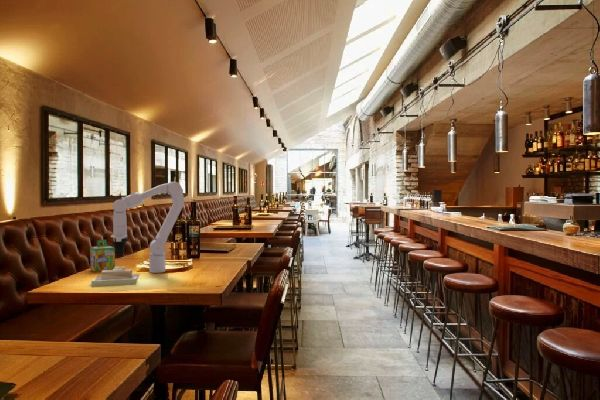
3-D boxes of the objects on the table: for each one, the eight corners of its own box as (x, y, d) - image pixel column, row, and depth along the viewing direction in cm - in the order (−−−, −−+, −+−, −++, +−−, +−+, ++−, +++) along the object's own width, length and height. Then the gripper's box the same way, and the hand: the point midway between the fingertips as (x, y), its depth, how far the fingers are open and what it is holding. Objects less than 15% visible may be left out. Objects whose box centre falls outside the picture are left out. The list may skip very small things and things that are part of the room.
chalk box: (96, 273, 222) (95, 242, 222) (89, 270, 229) (89, 240, 229) (115, 270, 228) (115, 240, 228) (109, 268, 235) (108, 238, 235)
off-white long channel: (93, 283, 195) (93, 278, 195) (137, 281, 200) (136, 276, 200) (91, 286, 191) (91, 281, 190) (136, 283, 195) (135, 278, 195)
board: (97, 277, 212) (97, 275, 212) (140, 275, 216) (140, 273, 216) (89, 288, 190) (89, 286, 190) (136, 286, 195) (136, 283, 195)
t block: (105, 276, 211) (105, 267, 210) (133, 274, 214) (133, 266, 213) (101, 281, 199) (101, 272, 199) (131, 280, 202) (131, 270, 202)
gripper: (112, 224, 221) (113, 253, 222) (108, 227, 207) (109, 258, 208) (128, 224, 223) (128, 252, 224) (125, 227, 209) (126, 257, 210)
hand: (120, 255), depth 216 cm, fingers open, 7 cm apart
